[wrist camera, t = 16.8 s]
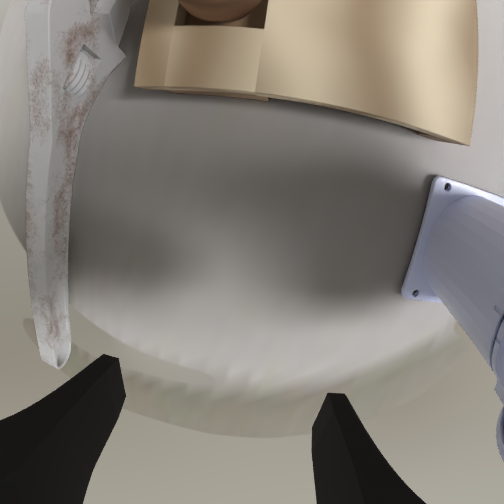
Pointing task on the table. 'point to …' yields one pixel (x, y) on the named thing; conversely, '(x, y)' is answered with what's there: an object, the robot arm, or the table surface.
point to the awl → (219, 9)
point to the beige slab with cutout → (327, 58)
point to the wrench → (61, 142)
